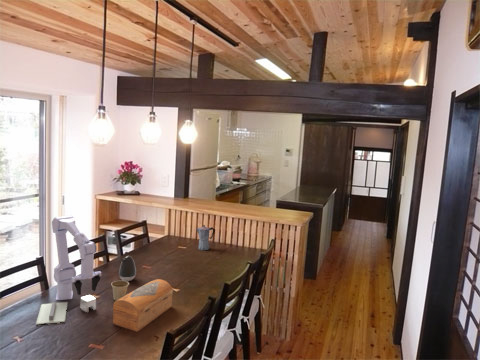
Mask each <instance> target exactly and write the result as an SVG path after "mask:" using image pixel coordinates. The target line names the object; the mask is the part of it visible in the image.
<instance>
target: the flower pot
mask: <svg viewBox="0 0 480 360" xmlns="http://www.w3.org/2000/svg"><path fill="white" fill-rule="evenodd" d="M129 282H130V281H123V280H114V281H112V282H111V284H110V285H111V288H112V295H113V300H114V301H117V300H119V299H120V298H122V297H124V296H126V295H127V291H128V288H129V285H130V283H129Z"/></svg>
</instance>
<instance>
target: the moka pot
mask: <svg viewBox="0 0 480 360" xmlns="http://www.w3.org/2000/svg"><path fill="white" fill-rule="evenodd" d="M195 230H196V232H197V234H198V238H199V240H198V246H197V247H198V250H199V251H208V250H209V249H210V245H209V239H210V240H211V239H213V236H214V233H215V228H213V227H207V226H206V225H205V224H203V225H202V226H201V227H197V228H195ZM210 231H212V233H211V236H210ZM209 236H210V237H209Z"/></svg>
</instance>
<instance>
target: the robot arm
mask: <svg viewBox="0 0 480 360" xmlns="http://www.w3.org/2000/svg"><path fill="white" fill-rule="evenodd" d="M51 226H52V227H51V229H52V233H54V234H55V241H56V249H57V258H58V264H57V265H56V266H55V267H54V268H53V279H54V282H55V283H57V286H56V287H57V288H56V296H55V301H63V300H65V301H66V300H72V299H73V296H74V295H73V294H74V291H73V284H74V286H75V289H76V294H77V295H78V296H81V295H82V285H83V283H82V281H84V280H87V279H88V280H89V279H90V280H91V291H93V292H95V291H96V289H97V286H98V283H99V282H100V281H101V277H102V271H94V261H95V260H94V258H95V257H94V256H95V254H96V252H97V244H96V243H95V242H94V241H91V240H89V239H88V237H87V236H86V234H85V233H83V232H80V230H79V228H78V227H77V224H76V219H75V217H74V216H73V215H66V216H64V215H63V216H58V217H57V216H55V217H54V218H53V219H52V222H51ZM67 233H69V234H70V235H72V236H73V241H74V243H75V244H76V246H77V247H78V251H79V256H80V257H79V258H80V261H81V262H80V274H78V275H77V270H76V268H75V264H73V263H71V262H70V257H69V256H70V255H69V249H68V240H67Z"/></svg>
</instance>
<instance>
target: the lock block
mask: <svg viewBox="0 0 480 360" xmlns="http://www.w3.org/2000/svg"><path fill="white" fill-rule="evenodd" d="M79 306H80V307H79V309H80V308H81V309H80V310H81V311H83V312H85V313H86V312H87V313H89V309H91V310H92V309H93V310H92V311H95V310H96V309H97V298H96V297H94V296H93V295H91V294H88V295H85V296H84V295H83V296H81V297H80V304H79ZM89 307H90V308H89Z"/></svg>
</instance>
